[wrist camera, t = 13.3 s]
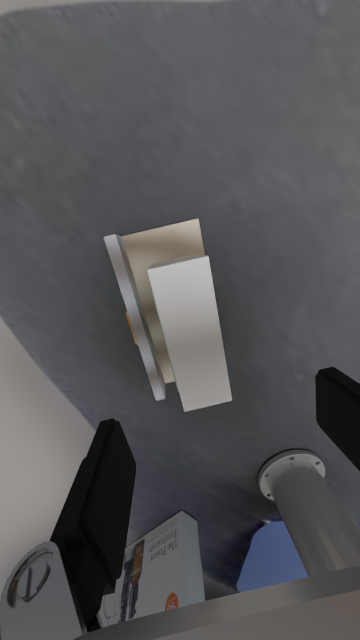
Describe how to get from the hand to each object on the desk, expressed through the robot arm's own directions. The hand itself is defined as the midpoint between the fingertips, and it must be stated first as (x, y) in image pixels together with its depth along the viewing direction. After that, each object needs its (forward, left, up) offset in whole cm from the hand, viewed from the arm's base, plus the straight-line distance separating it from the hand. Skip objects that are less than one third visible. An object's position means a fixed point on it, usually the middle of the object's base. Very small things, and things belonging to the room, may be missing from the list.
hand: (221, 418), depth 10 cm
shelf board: (0, +1, -19) cm, 19 cm away
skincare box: (-47, +17, -20) cm, 53 cm away
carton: (0, 0, -18) cm, 18 cm away
